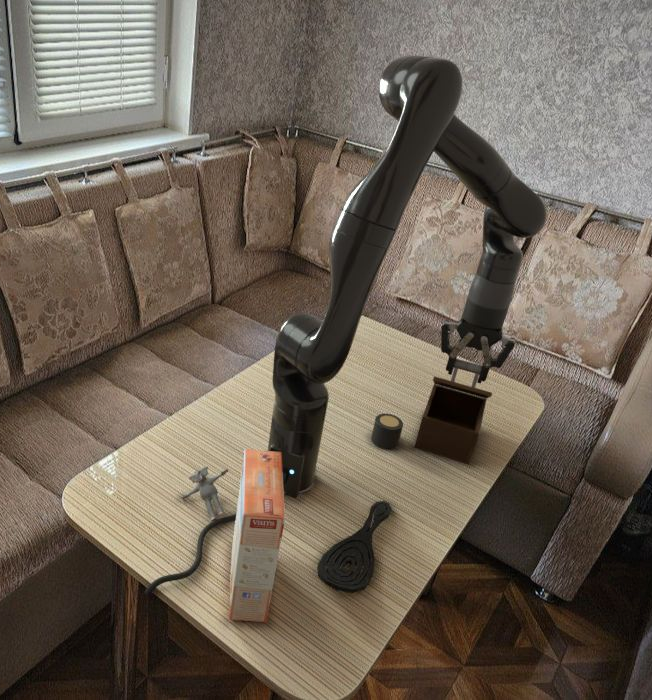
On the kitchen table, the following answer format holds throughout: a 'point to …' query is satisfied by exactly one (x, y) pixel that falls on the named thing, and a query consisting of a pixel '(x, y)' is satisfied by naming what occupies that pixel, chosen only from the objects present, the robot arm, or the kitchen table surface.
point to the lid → (460, 387)
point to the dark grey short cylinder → (386, 431)
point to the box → (451, 424)
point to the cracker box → (256, 535)
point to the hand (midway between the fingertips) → (464, 376)
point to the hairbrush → (353, 555)
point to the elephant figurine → (207, 490)
